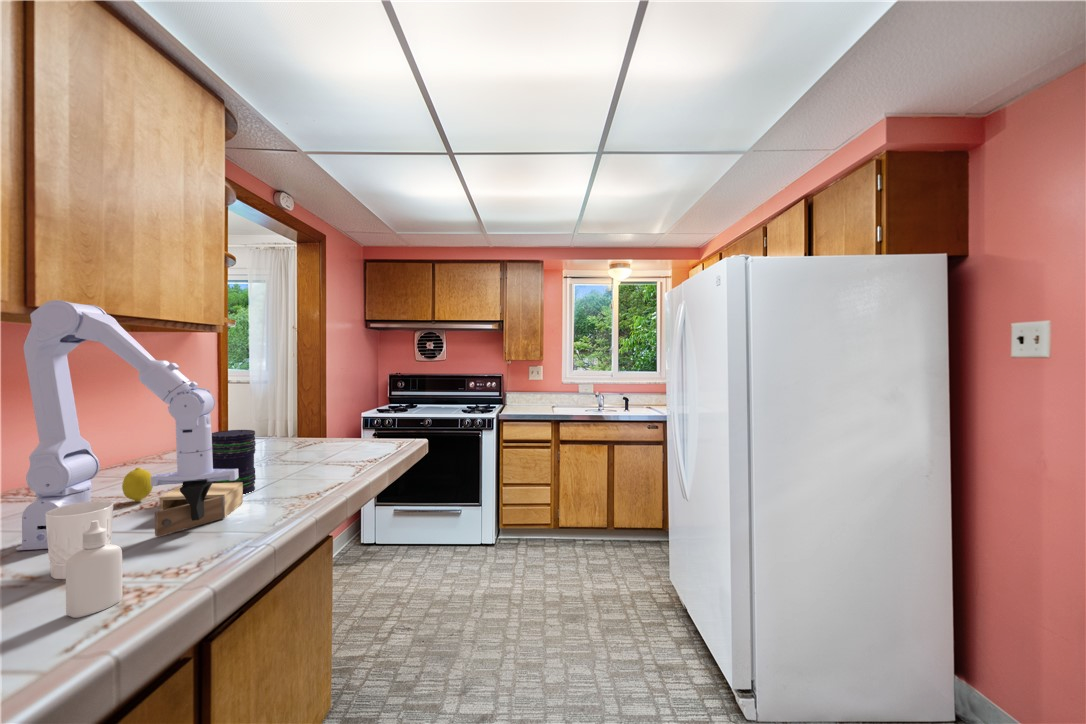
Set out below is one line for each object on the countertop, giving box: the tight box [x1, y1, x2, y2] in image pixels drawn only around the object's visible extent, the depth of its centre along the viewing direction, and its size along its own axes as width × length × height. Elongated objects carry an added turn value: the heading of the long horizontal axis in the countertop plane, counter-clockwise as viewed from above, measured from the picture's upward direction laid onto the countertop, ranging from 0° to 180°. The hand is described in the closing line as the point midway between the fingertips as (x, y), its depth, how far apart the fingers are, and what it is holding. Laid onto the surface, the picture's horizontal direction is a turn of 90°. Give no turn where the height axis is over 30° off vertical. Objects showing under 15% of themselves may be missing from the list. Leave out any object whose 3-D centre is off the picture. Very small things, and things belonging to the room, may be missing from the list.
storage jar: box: [212, 429, 257, 495], centre depth 122 cm, size 10×10×15 cm
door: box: [154, 496, 226, 537], centre depth 97 cm, size 2×12×5 cm, turn 152°
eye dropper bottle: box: [65, 520, 123, 619], centre depth 66 cm, size 4×6×12 cm
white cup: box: [45, 500, 114, 580], centre depth 78 cm, size 8×8×10 cm
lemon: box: [121, 467, 154, 503], centre depth 113 cm, size 6×6×8 cm
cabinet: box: [158, 482, 244, 518], centre depth 106 cm, size 10×12×5 cm
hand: (197, 518), depth 96 cm, fingers closed, pressing on door
